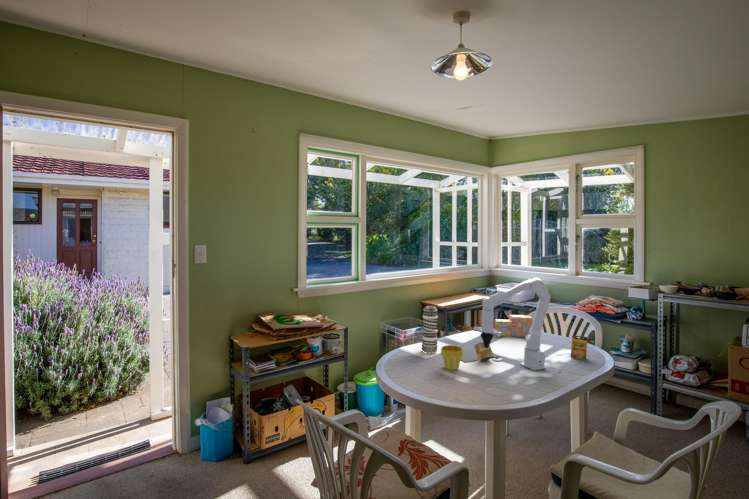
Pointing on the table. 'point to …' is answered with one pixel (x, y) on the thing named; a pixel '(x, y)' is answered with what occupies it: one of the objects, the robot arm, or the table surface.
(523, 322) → the stack of blocks
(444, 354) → the plant pot
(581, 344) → the crayon box
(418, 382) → the table surface
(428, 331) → the decorative candle
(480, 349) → the oak block
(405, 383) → the table surface
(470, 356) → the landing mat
